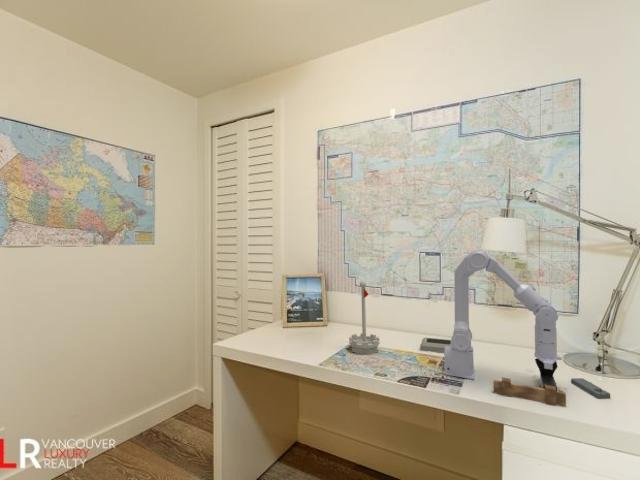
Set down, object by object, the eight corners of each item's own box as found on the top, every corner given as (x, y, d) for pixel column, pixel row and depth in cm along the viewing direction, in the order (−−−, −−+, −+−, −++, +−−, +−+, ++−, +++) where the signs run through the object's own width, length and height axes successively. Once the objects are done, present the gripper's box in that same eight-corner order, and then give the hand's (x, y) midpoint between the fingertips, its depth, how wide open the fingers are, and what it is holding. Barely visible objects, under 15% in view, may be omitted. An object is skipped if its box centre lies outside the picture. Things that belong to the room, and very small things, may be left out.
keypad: (458, 346, 132) (420, 342, 138) (458, 355, 132) (420, 351, 138) (458, 339, 141) (422, 336, 147) (458, 348, 141) (422, 344, 147)
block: (543, 398, 95) (542, 384, 95) (540, 387, 102) (540, 374, 102) (557, 401, 94) (557, 387, 94) (553, 390, 100) (553, 376, 100)
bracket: (582, 384, 105) (582, 377, 105) (611, 400, 95) (610, 393, 95) (570, 384, 105) (570, 378, 105) (597, 400, 95) (597, 393, 95)
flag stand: (344, 347, 144) (343, 280, 144) (371, 343, 148) (369, 278, 148) (357, 357, 132) (355, 283, 132) (385, 352, 136) (383, 281, 136)
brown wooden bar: (493, 393, 99) (493, 378, 99) (494, 386, 104) (493, 372, 104) (566, 407, 90) (566, 391, 90) (563, 399, 95) (563, 384, 95)
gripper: (564, 350, 94) (565, 396, 94) (557, 336, 107) (558, 377, 107) (535, 346, 98) (536, 391, 98) (532, 333, 110) (533, 373, 110)
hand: (546, 383), depth 103 cm, fingers closed
